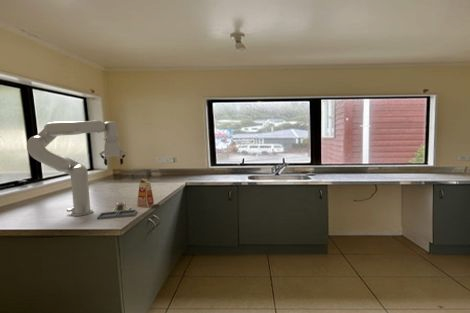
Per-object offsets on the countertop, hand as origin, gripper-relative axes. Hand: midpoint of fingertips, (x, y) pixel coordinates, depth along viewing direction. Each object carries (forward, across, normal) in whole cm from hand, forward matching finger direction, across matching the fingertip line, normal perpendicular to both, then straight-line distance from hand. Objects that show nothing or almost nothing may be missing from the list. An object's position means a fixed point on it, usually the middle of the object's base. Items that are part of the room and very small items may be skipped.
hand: (113, 164), depth 185 cm
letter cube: (+30, +4, -9) cm, 32 cm away
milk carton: (+31, +19, +1) cm, 36 cm away
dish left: (+30, -1, -20) cm, 36 cm away
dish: (+30, +4, -9) cm, 32 cm away
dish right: (+30, +10, -20) cm, 38 cm away
